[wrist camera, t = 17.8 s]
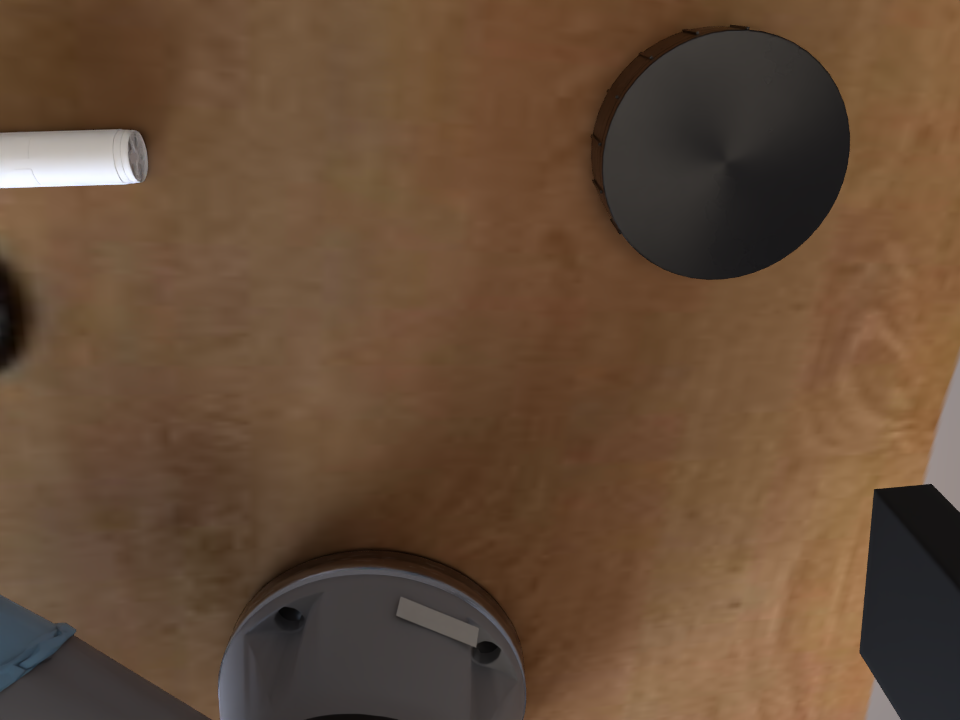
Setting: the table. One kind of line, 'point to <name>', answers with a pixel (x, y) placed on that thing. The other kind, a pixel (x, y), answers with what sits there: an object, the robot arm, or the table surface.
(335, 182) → the table surface
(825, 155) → the lid
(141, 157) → the marker
